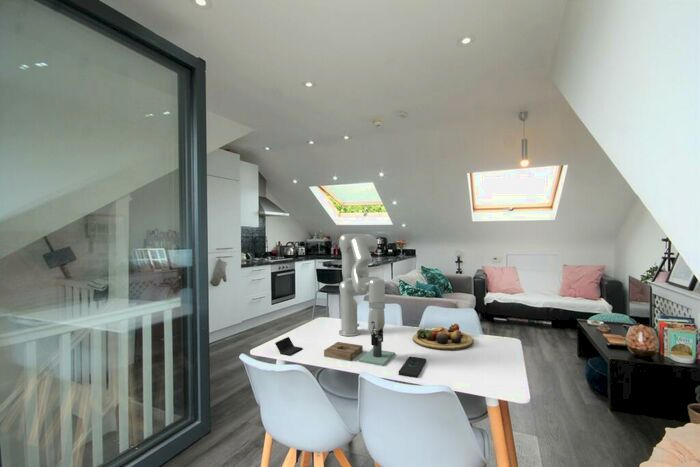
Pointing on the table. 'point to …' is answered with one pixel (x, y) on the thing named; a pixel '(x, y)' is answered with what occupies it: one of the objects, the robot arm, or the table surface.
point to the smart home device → (412, 367)
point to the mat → (377, 358)
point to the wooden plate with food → (443, 339)
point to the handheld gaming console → (287, 347)
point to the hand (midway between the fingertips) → (377, 343)
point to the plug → (378, 348)
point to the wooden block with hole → (343, 351)
